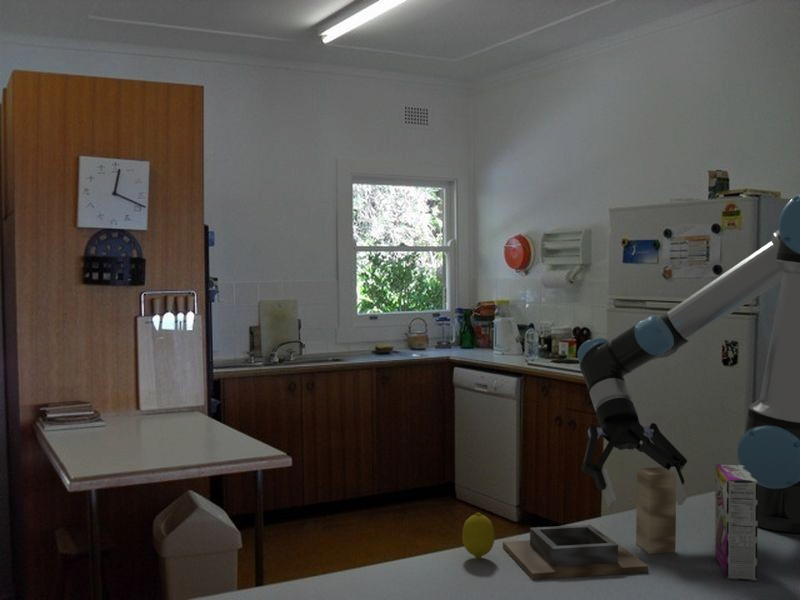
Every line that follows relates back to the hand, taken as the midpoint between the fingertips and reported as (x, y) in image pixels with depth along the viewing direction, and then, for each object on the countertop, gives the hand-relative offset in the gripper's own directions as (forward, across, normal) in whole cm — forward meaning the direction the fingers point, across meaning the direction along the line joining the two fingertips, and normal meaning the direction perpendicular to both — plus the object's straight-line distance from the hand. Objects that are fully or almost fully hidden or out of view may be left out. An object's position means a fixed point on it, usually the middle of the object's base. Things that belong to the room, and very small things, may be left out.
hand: (647, 503), depth 147 cm
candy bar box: (+15, -9, +4) cm, 18 cm away
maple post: (+7, -1, -4) cm, 8 cm away
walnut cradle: (+9, +16, -2) cm, 18 cm away
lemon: (+7, +32, -4) cm, 33 cm away
